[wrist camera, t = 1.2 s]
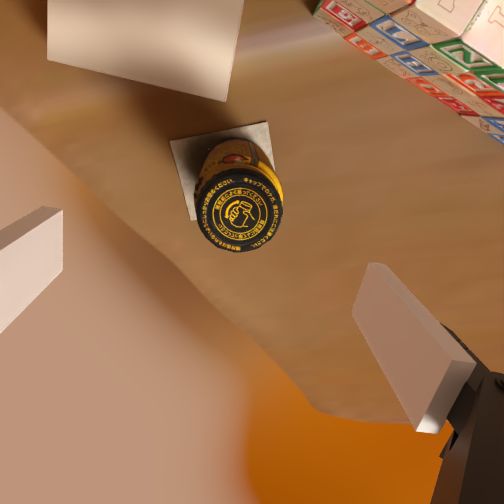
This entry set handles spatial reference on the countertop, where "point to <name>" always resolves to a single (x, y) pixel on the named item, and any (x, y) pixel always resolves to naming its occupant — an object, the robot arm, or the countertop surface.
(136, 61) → the birch block
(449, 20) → the stack of blocks
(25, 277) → the robot arm
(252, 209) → the condiment
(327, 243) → the countertop surface
